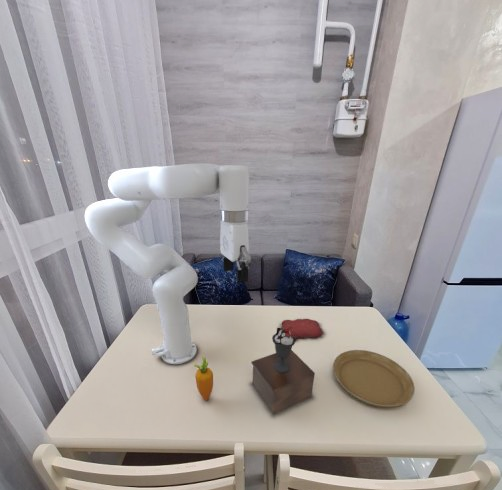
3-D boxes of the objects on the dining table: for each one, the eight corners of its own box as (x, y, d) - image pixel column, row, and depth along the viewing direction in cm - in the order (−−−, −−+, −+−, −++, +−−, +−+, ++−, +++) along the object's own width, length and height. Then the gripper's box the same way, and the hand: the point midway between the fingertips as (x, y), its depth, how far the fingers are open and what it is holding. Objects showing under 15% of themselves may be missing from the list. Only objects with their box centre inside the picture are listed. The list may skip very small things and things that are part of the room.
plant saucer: (431, 407, 77) (434, 399, 75) (354, 418, 73) (357, 410, 72) (381, 354, 98) (383, 346, 97) (320, 360, 95) (321, 353, 93)
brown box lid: (272, 392, 70) (273, 390, 70) (251, 363, 80) (251, 361, 80) (314, 375, 76) (315, 372, 76) (289, 349, 86) (289, 348, 86)
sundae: (292, 376, 74) (297, 332, 68) (269, 372, 76) (271, 329, 69) (294, 360, 80) (298, 319, 74) (272, 357, 81) (274, 316, 75)
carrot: (207, 409, 75) (203, 369, 69) (194, 402, 78) (189, 362, 71) (218, 398, 79) (215, 358, 73) (205, 391, 81) (202, 352, 75)
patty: (285, 341, 105) (285, 337, 104) (277, 322, 117) (277, 318, 116) (327, 337, 107) (327, 333, 106) (314, 319, 119) (315, 315, 119)
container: (273, 414, 74) (274, 391, 70) (252, 384, 84) (252, 362, 80) (311, 397, 80) (314, 375, 76) (287, 370, 90) (289, 350, 86)
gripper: (210, 212, 75) (212, 268, 82) (234, 223, 61) (235, 290, 68) (234, 210, 78) (234, 264, 85) (263, 221, 64) (260, 284, 71)
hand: (235, 275), depth 77 cm, fingers open, 9 cm apart
